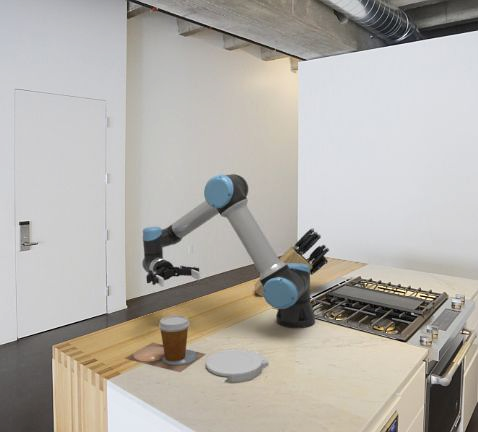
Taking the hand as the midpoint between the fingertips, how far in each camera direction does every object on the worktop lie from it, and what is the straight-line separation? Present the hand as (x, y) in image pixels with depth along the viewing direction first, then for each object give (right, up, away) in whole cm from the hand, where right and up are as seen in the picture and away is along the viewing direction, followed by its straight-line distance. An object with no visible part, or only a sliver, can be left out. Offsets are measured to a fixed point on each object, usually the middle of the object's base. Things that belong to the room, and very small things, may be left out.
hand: (181, 279), depth 154 cm
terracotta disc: (-8, -23, -12) cm, 27 cm away
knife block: (+45, -15, +58) cm, 75 cm away
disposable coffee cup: (0, -22, -15) cm, 27 cm away
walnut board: (-3, -24, -13) cm, 28 cm away
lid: (+20, -25, -20) cm, 37 cm away
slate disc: (+1, -23, -15) cm, 27 cm away
